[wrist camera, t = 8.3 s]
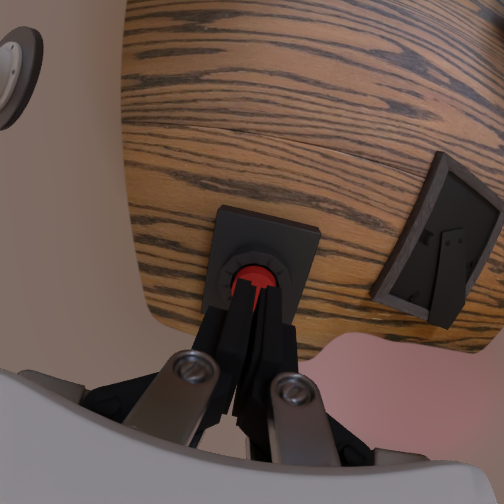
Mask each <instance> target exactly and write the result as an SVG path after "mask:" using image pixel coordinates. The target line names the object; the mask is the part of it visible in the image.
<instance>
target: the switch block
mask: <svg viewBox="0 0 504 504" xmlns="http://www.w3.org/2000/svg"><path fill="white" fill-rule="evenodd" d="M320 237H321V232H320V230H319V228H318V227H314V226H311V225H307V224H303V223H299V222H295V221H291V220H287V219H282V218H278V217H274V216H270V215H266V214H262V213H257V212H253V211H249V210H244V209H240V208H235V207H231V206H226V205H222V206H221V207H220V208H219V209H218V211H217V217H216V222H215V228H214V233H213V239H212V245H211V251H210V257H209V263H208V269H207V275H206V281H205V288H204V294H203V301H202V308H201V314H206V311H207V309H208V306H209V305H210V306H214V307H217V308H221V309H225V310H229V306H230V303H231V300H232V293H231V290H232V285H233V282H234V279H235V277H236V275H237V273H238V272H239V271H240V270H241V269H243V268H245V267H247V266H261V267H264V268H266V269H267V270H269V271H270V272H271V273H272V275H273V276H274V278H275V282H276V287H278V288H282V323H284V324H289V325H291V324H292V321H293V318H294V315H295V313H296V310H297V307H298V304H299V301H300V298H301V295H302V292H303V289H304V287H305V284H306V281H307V278H308V275H309V271H310V268H311V265H312V262H313V259H314V256H315V253H316V250H317V246H318V243H319V240H320ZM253 313H254V311H253ZM252 316H253V314H252Z"/></svg>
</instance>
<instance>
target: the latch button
mask: <svg viewBox="0 0 504 504" xmlns="http://www.w3.org/2000/svg"><path fill="white" fill-rule="evenodd" d="M238 278H242V279H246V280H250V281H252V284H251V285H254V286H257V288H256V294H255V301H254V308H253V311H254V309H255V306H256V302H257V299H258V295H259V292H260V289H261V287H262V288H266V287H267V285H270V286H274V287H276V282H275V278H274V276H273V275H272V273H271V272H270V271H269V270H267V269H266V268H264V267H261V266H247V267H245V268H243V269H241V270H240V271H239V272H238V273H237V275H236V277H235V279H234V282H233V285H232V290H231V293H232V296H233V293H234V289H235V286H236V282H237V279H238Z"/></svg>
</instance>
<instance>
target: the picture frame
mask: <svg viewBox="0 0 504 504" xmlns="http://www.w3.org/2000/svg"><path fill="white" fill-rule="evenodd" d="M503 224H504V201H503V200H501V199H500V198H499V197H498V196H497V195H496V194H495V193H494V192H493V191H492V190H491V189H490V188H488V187H487V186H486V185H485V184H484V183H483V182H482V181H480V180H479V179H478V178H477V177H476V176H475V175H473V174H472V173H471V172H470V171H468V170H467V169H466V168H465V167H463V166H462V165H461V164H460V163H458V162H457V161H456V160H454V159H453V158H452V157H450V156H449V155H448V154H446V153H445V152H442V151H436V154H435V157H434V159H433V162H432V165H431V167H430V170H429V172H428V175H427V177H426V180H425V182H424V185H423V187H422V190H421V192H420V194H419V197H418V199H417V201H416V203H415V206H414V208H413V210H412V212H411V214H410V217H409V219H408V221H407V223H406V225H405V227H404V229H403V231H402V233H401V235H400V237H399V239H398V241H397V243H396V245H395V247H394V249H393V251H392V253H391V255H390V257H389V258H388V260H387V262H386V264H385V266H384V268H383V270H382V271H381V273H380V275H379V277H378V278H377V280H376V282H375V284H374V285H373V287H372V289H371V291H370V292H369V295H370V297H371V299H372V300H373V301H376V302H378V303H381V304H383V305H386V306H389V307H391V308H394V309H397V310H399V311H402V312H405V313H407V314H410V315H413V316H415V317H418V318H421V319H423V320H426V321H428V322H429V323H432V324H434V325H437V326H439V327H442V328H444V329H447V330H448V329H449V327H450V326H451V325H452V323H453V322H454V320H455V319H456V317H457V316H458V314H459V313H460V311H461V309H462V308H463V306H464V305H465V299H466V297H467V296H468V294H469V292H470V291H471V289H472V287H473V286H474V284H475V282H476V280H477V278H478V277H479V275H480V273H481V271H482V269H483V267H484V265H485V263H486V261H487V259H488V257H489V255H490V253H491V251H492V249H493V247H494V245H495V243H496V241H497V238H498V236H499V234H500V232H501V229H502V227H503Z"/></svg>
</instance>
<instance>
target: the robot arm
mask: <svg viewBox="0 0 504 504" xmlns="http://www.w3.org/2000/svg"><path fill="white" fill-rule="evenodd" d="M21 64H22V50H21V46H20V45H19V44H18V43H17V42H8V43H5V44H4V45H3V46H2V47H1V48H0V111H1V110H2V109H3V107H4V106H5V105H6V104H7V102H8V100H9V99H10V97H11V95H12V93H13V91H14V88H15V86H16V83H17V80H18V77H19V74H20V70H21ZM251 284H252V281H250V280H246V279H242V278H238V279H237V282H236V286H235V289H234V293H233V296H232V300H231V303H230V306H229V310H225V309H221V308H217V307H214V306H210V305H209V306H208V309H207V311H206V314H205V316H204V318H203V321H202V323H201V326H200V328H199V331H198V333H197V336H196V338H195V341H194V343H193V346H192V348H191V350H182V351H179V352H177V353H175V354H173V355H172V356H171V357H170V358H169V360H168V361H167V362H166V364H165V365H164V366H163V368H162V369H161V371H160V372H157V373H153V374H150V375H146V376H142V377H139V378H135V379H131V380H127V381H123V382H120V383H115V384H111V385H107V386H102V387H99V388H96V389H93V390H92V391H91V390H87V389H85V386H84V385H80V384H76V383H73V382H69V381H66V380H62V379H59V378H55V377H52V376H49V375H46V374H43V373H40V372H37V371H33V370H23V371H20V372H19V373H17V374H16V373H13V372H10V371H7V370H4V369H1V368H0V504H497V501H496V498H495V495H494V492H493V489H492V487H491V485H490V482H489V480H488V478H487V476H486V475H485V473H484V472H483V471H482V470H481V469H479V468H478V467H476V466H474V465H471V464H467V463H462V462H458V461H446V460H434V461H430V459H428V458H427V457H426V456H424V455H421V454H415V453H406V452H400V451H393V450H387V449H380V448H374V449H373V450H370V448H369V447H368V446H367V445H366V444H365V443H364V442H362V441H361V440H360V439H359V438H357V437H356V436H355V435H353V434H352V433H351V432H350V431H348V430H347V429H346V428H344V427H343V426H342V425H341V424H340V423H339V422H337V421H336V420H335V419H334V418H332V417H331V416H330V415H329V414H328V413H326V411H325V408H324V404H323V401H322V398H321V395H320V391H319V389H318V387H317V385H316V384H315V383H314V382H313V381H312V380H311V379H310V378H308V377H307V376H305V375H302V374H300V373H298V357H297V341H296V328H295V326H293V325H289V324H284V323H282V288H278V287H274V286H270V285H267V287H266V288H262V287H261V289H260V292H259V295H258V299H257V302H256V306H255V309H254V313H253V308H254V301H255V294H256V288H257V286H254V285H251ZM252 314H253V316H252ZM236 386H237V388H236ZM235 389H236V393H235V399H234V405H233V411H232V416H235V417H237V422H236V426H239V427H240V429H241V430H242V431H243V432H244V433H245V434H246V439H245V445H246V446H245V447H246V459H240V458H235V457H229V456H225V455H220V454H216V453H211V452H207V451H203V450H199V449H198V447H199V445H200V443H201V441H202V439H203V436H204V434H205V431H206V429H207V428H209V427H211V426H213V425H215V424H218V423H219V422H220V418H221V415H222V414H226V415H227V413H228V410H229V406H230V404H231V401H232V398H233V395H234V392H235Z"/></svg>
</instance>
